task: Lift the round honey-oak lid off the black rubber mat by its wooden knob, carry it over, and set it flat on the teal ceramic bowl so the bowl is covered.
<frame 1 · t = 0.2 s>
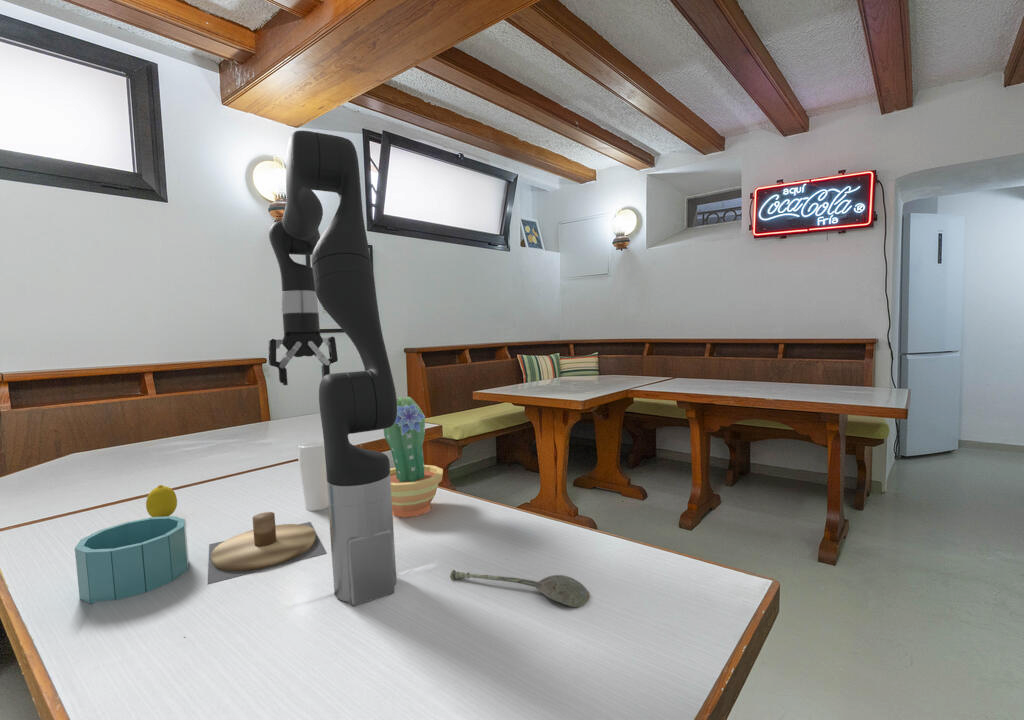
hand: (305, 383, 111), 29 cm above the table, tool pointing down, fingers open, 8 cm apart
potted cactus: (410, 510, 108), on the table
lid: (266, 548, 89), resting on mat
bowl: (137, 579, 81), on the table
lemon: (163, 521, 108), on the table
mat: (266, 551, 89), on the table
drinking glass: (318, 509, 111), on the table
soupspoon: (517, 592, 73), on the table
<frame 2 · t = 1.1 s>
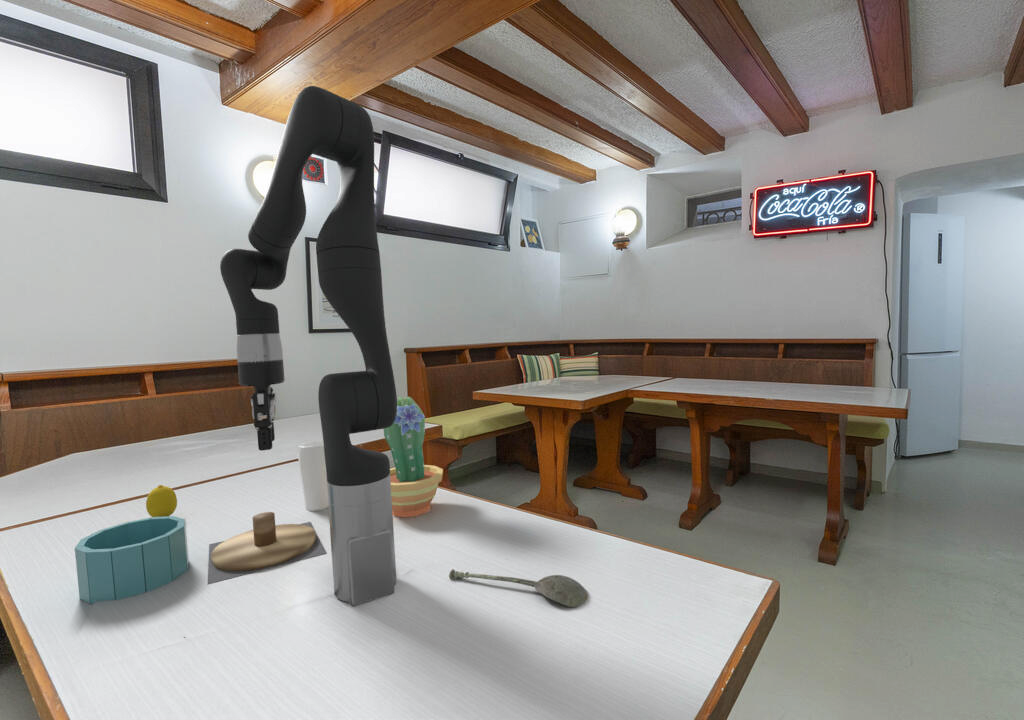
hand: (267, 445, 91), 19 cm above the table, tool pointing down, fingers open, 8 cm apart
nothing on the table moved.
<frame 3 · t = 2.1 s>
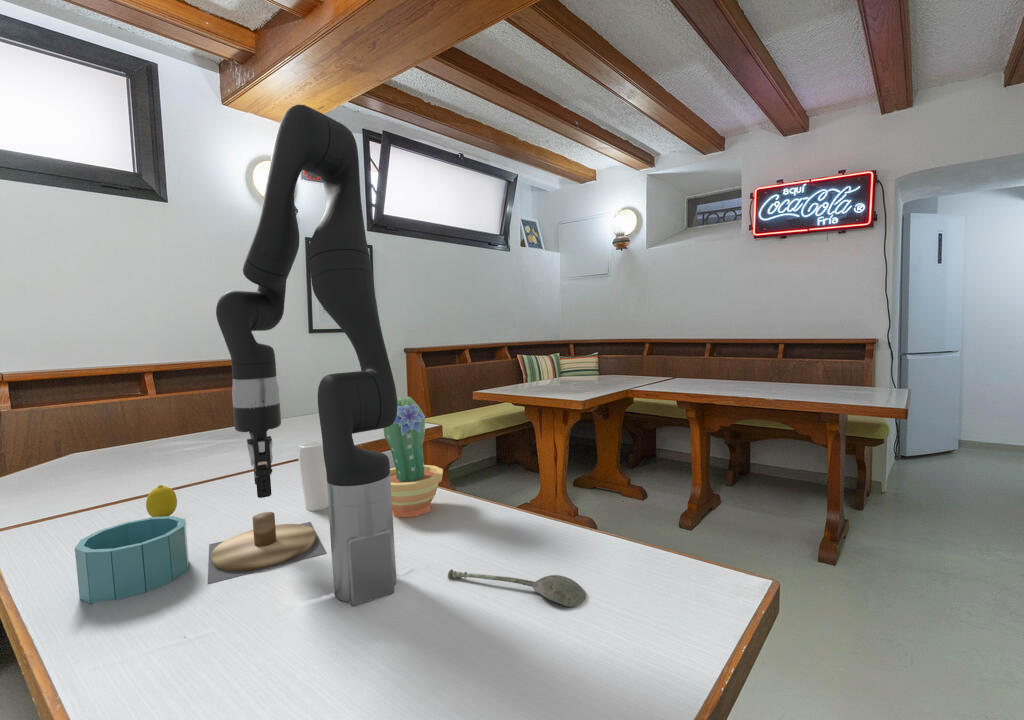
hand: (262, 490, 89), 11 cm above the table, tool pointing down, fingers open, 8 cm apart
nothing on the table moved.
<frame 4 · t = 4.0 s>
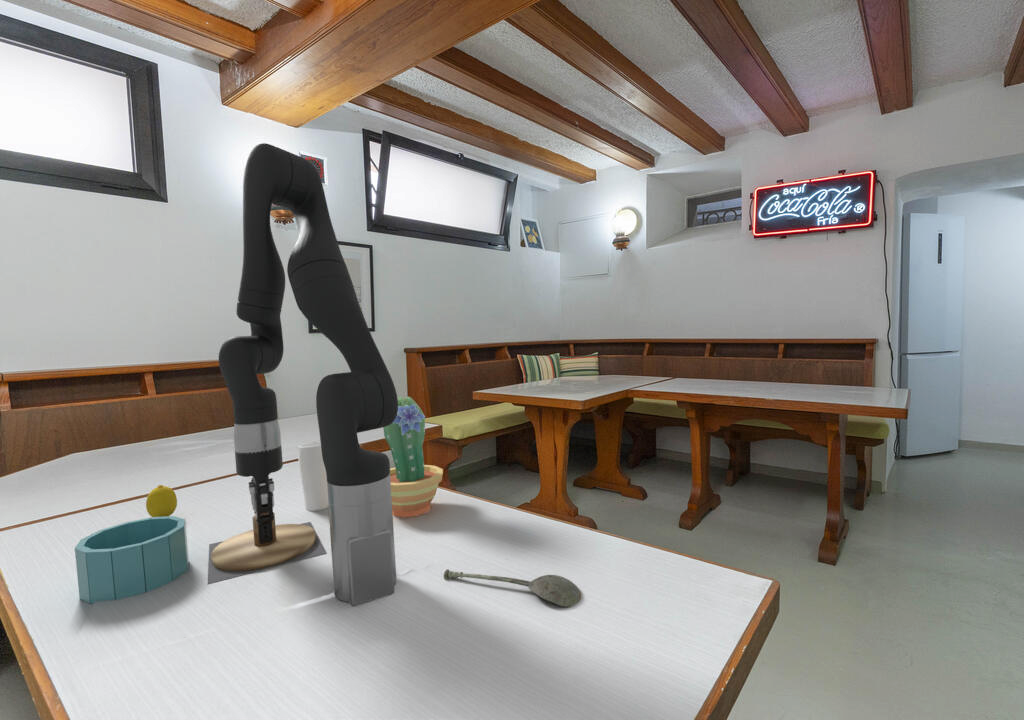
hand: (265, 537, 89), 3 cm above the table, tool pointing down, fingers closed on lid, 3 cm apart
lid: (266, 548, 89), resting on mat, touching gripper
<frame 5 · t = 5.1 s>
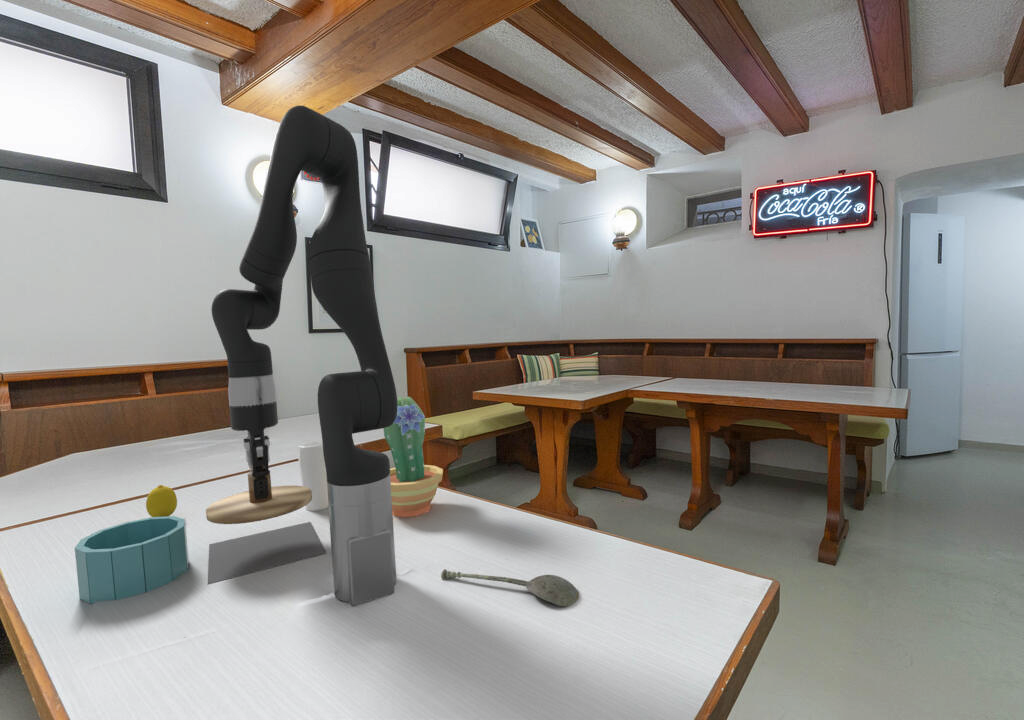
hand: (260, 495, 88), 11 cm above the table, tool pointing down, fingers closed on lid, 3 cm apart
lid: (261, 506, 88), point 9 cm above the table, touching gripper
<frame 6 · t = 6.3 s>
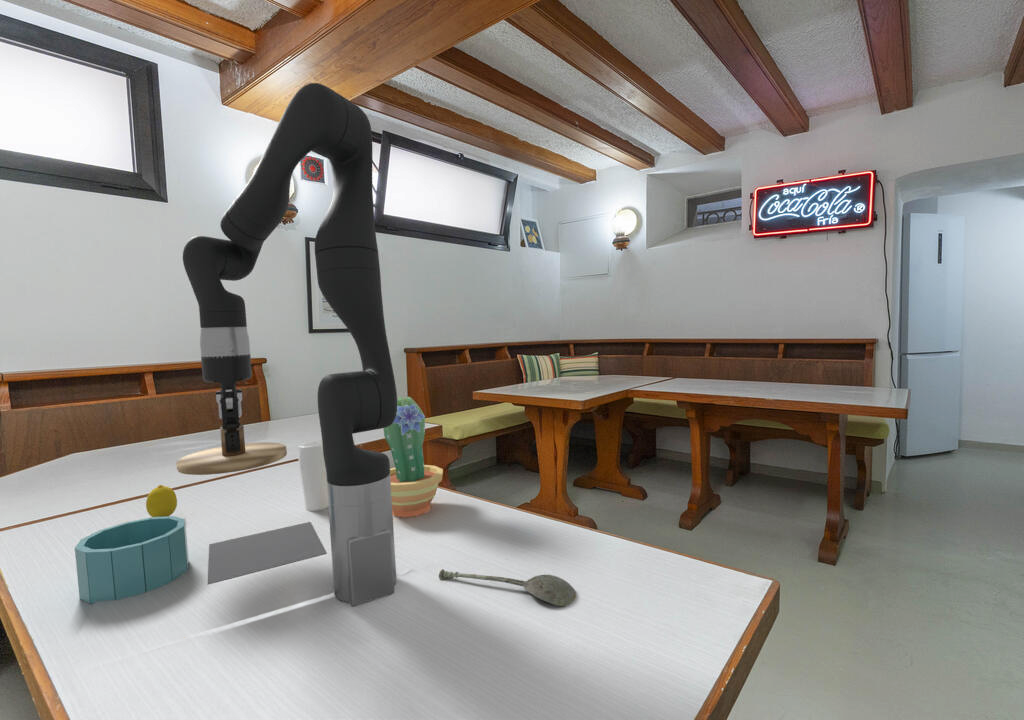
hand: (233, 449, 87), 20 cm above the table, tool pointing down, fingers closed on lid, 3 cm apart
lid: (234, 460, 87), point 17 cm above the table, touching gripper
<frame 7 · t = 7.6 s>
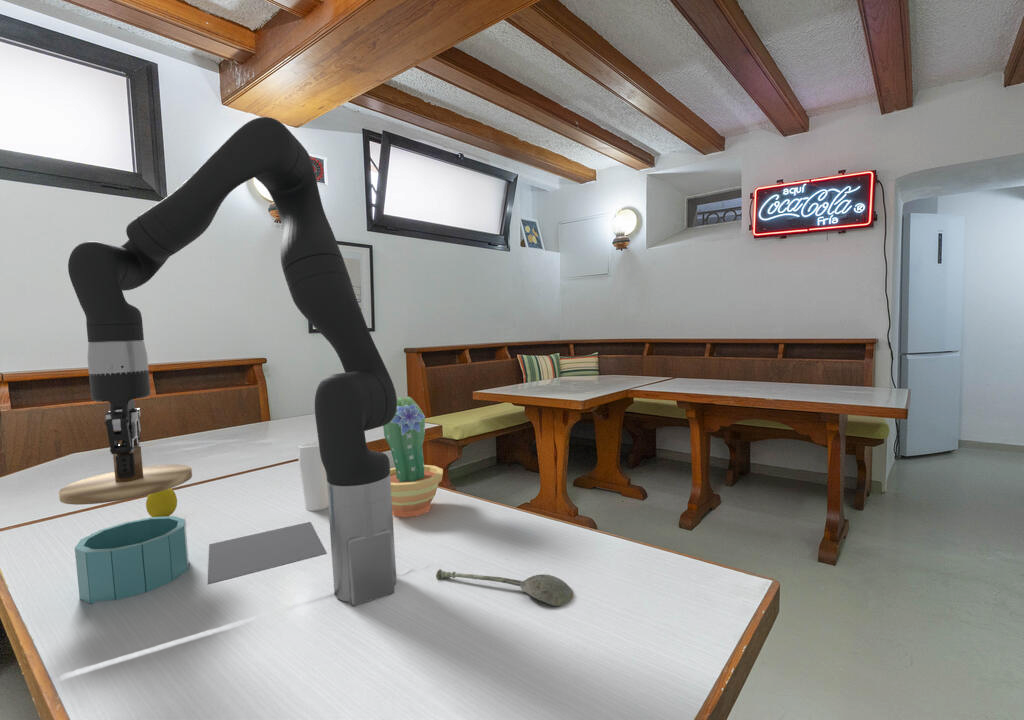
hand: (128, 474, 80), 18 cm above the table, tool pointing down, fingers closed on lid, 3 cm apart
lid: (130, 486, 80), point 16 cm above the table, touching gripper
when the fingers open (11 cm above the table, at t = 9.3 s): lid drops 1 cm, resting on bowl.
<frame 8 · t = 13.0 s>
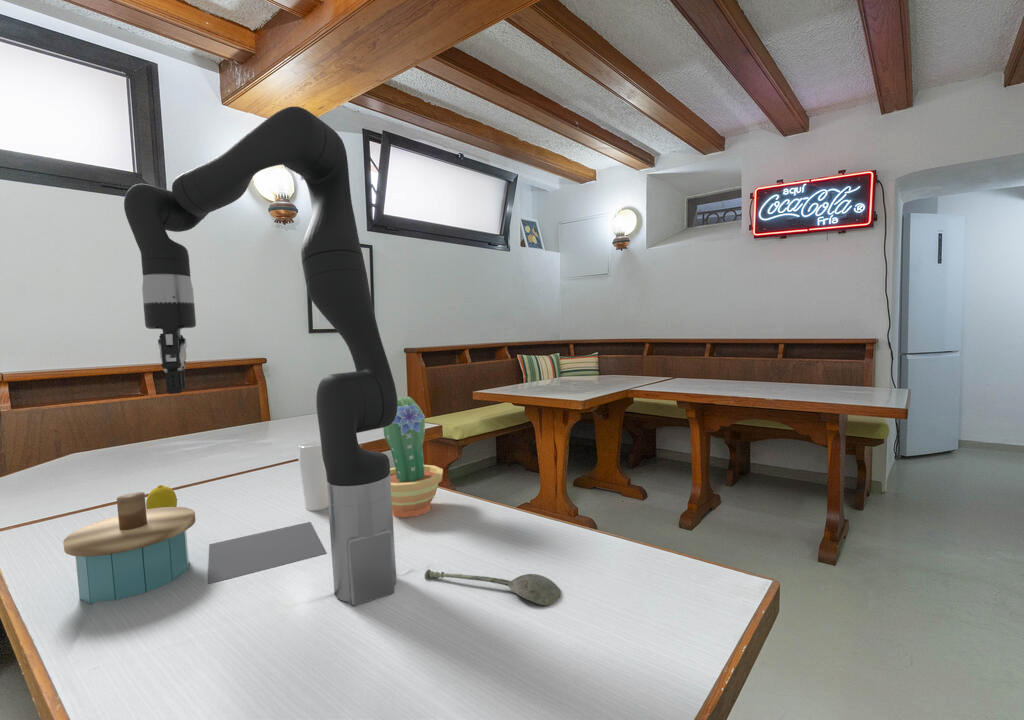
hand: (176, 391, 88), 30 cm above the table, tool pointing down, fingers open, 8 cm apart
lid: (134, 532, 80), point 8 cm above the table, touching bowl
soupspoon: (491, 591, 74), on the table
everything else where it was.
at the end: lid 0.1 cm off-centre on the bowl, point 8.0 cm above the bowl's base; lid tilted 0°; the gripper is holding nothing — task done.
